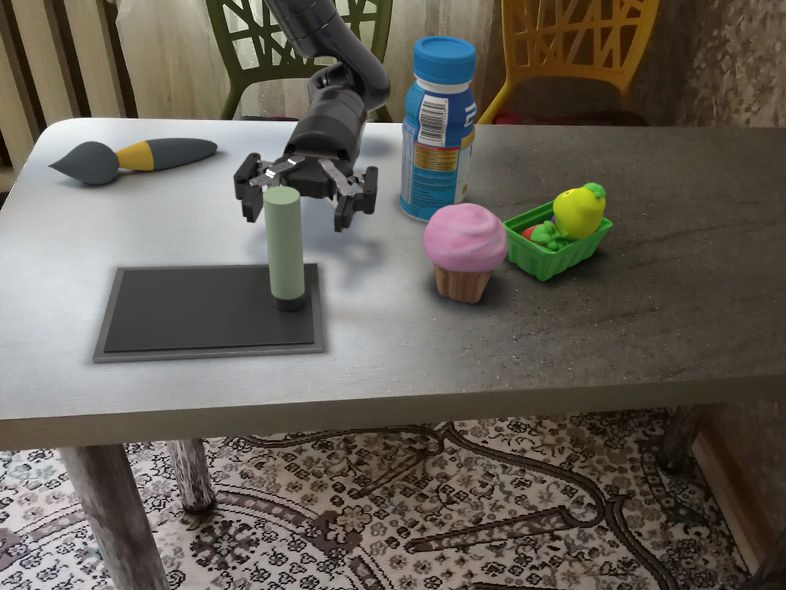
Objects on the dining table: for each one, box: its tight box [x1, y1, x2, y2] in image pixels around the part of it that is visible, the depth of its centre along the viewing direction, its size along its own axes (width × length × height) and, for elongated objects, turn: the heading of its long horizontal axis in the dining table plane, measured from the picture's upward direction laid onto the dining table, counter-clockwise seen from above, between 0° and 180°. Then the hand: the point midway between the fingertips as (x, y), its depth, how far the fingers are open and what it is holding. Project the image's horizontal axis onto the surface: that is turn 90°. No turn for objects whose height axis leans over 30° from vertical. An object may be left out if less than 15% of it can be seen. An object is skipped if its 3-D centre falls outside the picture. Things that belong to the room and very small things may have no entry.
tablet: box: [91, 262, 324, 364], centre depth 73 cm, size 20×14×1 cm
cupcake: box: [422, 202, 508, 305], centre depth 77 cm, size 9×9×10 cm
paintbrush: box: [47, 137, 219, 186], centre depth 91 cm, size 20×5×5 cm, turn 134°
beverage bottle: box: [399, 35, 478, 223], centre depth 86 cm, size 8×8×20 cm
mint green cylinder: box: [263, 185, 305, 312], centre depth 70 cm, size 3×3×12 cm
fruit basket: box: [502, 182, 613, 282], centre depth 83 cm, size 11×9×11 cm
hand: (293, 219), depth 72 cm, fingers open, 8 cm apart
